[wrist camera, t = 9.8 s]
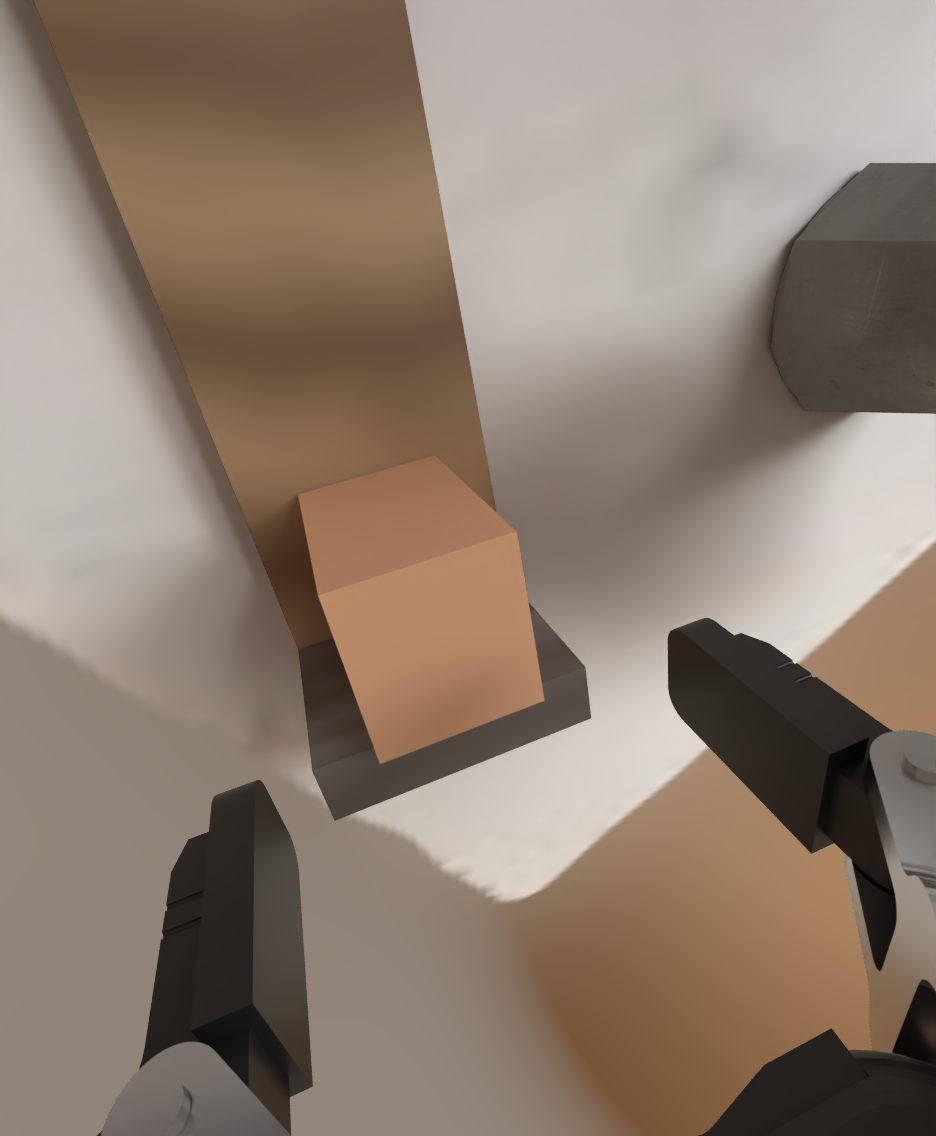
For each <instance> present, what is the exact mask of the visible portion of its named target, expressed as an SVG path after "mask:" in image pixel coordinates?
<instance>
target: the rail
mask: <svg viewBox="0 0 936 1136" xmlns="http://www.w3.org/2000/svg"><path fill="white" fill-rule="evenodd" d="M33 1H34V3H35V6H36V8H37V11H38V13H39V15H40V18H41V20H42V23H43V25H44V28H45V30H46V33H47V35H48V38H49V40H50V42H51V45H52V47H53V50H54V52H55V55H56V57H57V60H58V62H59V64H60V67H61V69H62V72H63V74H64V77H65V79H66V82H67V84H68V87H69V89H70V91H71V94H72V96H73V99H74V101H75V104H76V106H77V109H78V111H79V113H80V116H81V118H82V121H83V123H84V126H85V128H86V131H87V133H88V135H89V138H90V140H91V143H92V145H93V148H94V150H95V153H96V155H97V158H98V160H99V162H100V165H101V167H102V170H103V172H104V175H105V177H106V180H107V182H108V184H109V187H110V189H111V192H112V194H113V197H114V199H115V202H116V204H117V207H118V209H119V211H120V214H121V216H122V219H123V221H124V224H125V226H126V229H127V231H128V233H129V236H130V238H131V241H132V243H133V246H134V248H135V251H136V253H137V255H138V258H139V260H140V263H141V265H142V268H143V270H144V273H145V275H146V278H147V280H148V282H149V285H150V287H151V290H152V292H153V295H154V297H155V300H156V302H157V304H158V307H159V309H160V312H161V314H162V317H163V319H164V322H165V324H166V327H167V329H168V331H169V334H170V336H171V339H172V341H173V344H174V346H175V349H176V351H177V353H178V356H179V358H180V361H181V363H182V366H183V368H184V371H185V373H186V375H187V378H188V380H189V383H190V385H191V388H192V390H193V393H194V395H195V398H196V400H197V402H198V405H199V407H200V410H201V412H202V415H203V417H204V420H205V422H206V424H207V427H208V429H209V432H210V434H211V437H212V439H213V442H214V444H215V447H216V449H217V451H218V454H219V456H220V459H221V461H222V464H223V466H224V469H225V471H226V473H227V476H228V478H229V481H230V483H231V486H232V488H233V491H234V493H235V495H236V498H237V500H238V503H239V505H240V508H241V510H242V513H243V515H244V518H245V520H246V522H247V525H248V527H249V530H250V532H251V535H252V537H253V540H254V542H255V544H256V547H257V549H258V552H259V554H260V557H261V559H262V562H263V564H264V567H265V569H266V571H267V574H268V576H269V579H270V581H271V584H272V586H273V589H274V591H275V593H276V596H277V598H278V601H279V603H280V606H281V608H282V611H283V613H284V616H285V618H286V620H287V623H288V625H289V628H290V630H291V633H292V635H293V638H294V640H295V642H296V645H297V647H298V650H299V659H300V668H301V676H302V685H303V694H304V703H305V711H306V720H307V729H308V738H309V747H310V755H311V764H312V771H313V774H314V776H315V778H316V780H317V782H318V785H319V787H320V789H321V791H322V794H323V796H324V798H325V800H326V802H327V805H328V807H329V809H330V811H331V813H332V816H333V818H334V820H338V819H340V818H342V817H345V816H348V815H350V814H353V813H355V812H358V811H360V810H363V809H365V808H368V807H370V806H373V805H375V804H378V803H380V802H383V801H385V800H388V799H390V798H393V797H395V796H398V795H400V794H403V793H405V792H408V791H410V790H413V789H415V788H418V787H420V786H423V785H425V784H428V783H430V782H433V781H435V780H438V779H440V778H443V777H445V776H448V775H450V774H453V773H455V772H458V771H460V770H463V769H465V768H468V767H470V766H473V765H475V764H478V763H480V762H483V761H485V760H488V759H490V758H493V757H495V756H498V755H500V754H503V753H505V752H508V751H510V750H513V749H515V748H518V747H520V746H523V745H525V744H528V743H530V742H533V741H535V740H538V739H540V738H543V737H545V736H548V735H550V734H553V733H555V732H558V731H560V730H563V729H565V728H568V727H570V726H573V725H575V724H578V723H580V722H583V721H585V720H588V719H590V718H591V713H590V704H589V696H588V687H587V678H586V669H585V666H584V665H583V664H582V663H581V662H580V661H579V659H578V658H577V657H576V656H575V655H574V654H573V653H572V651H571V650H570V649H569V648H568V647H567V646H566V645H565V643H564V642H563V641H562V640H561V639H560V638H559V636H558V635H557V634H556V633H555V632H554V631H553V630H552V628H551V627H550V626H549V625H548V624H547V623H546V622H545V620H544V619H543V618H542V617H541V616H540V615H539V614H538V612H537V611H536V610H535V609H534V608H533V607H532V606H531V604H530V603H529V608H530V614H531V621H532V627H533V633H534V639H535V645H536V651H537V657H538V663H539V670H540V676H541V682H542V688H543V694H544V700H545V701H542V702H540V703H537V704H535V705H532V706H529V707H527V708H524V709H522V710H519V711H517V712H514V713H511V714H509V715H506V716H504V717H501V718H498V719H496V720H493V721H491V722H488V723H485V724H483V725H480V726H478V727H475V728H473V729H470V730H467V731H465V732H462V733H460V734H457V735H454V736H452V737H449V738H447V739H444V740H441V741H439V742H436V743H434V744H431V745H429V746H426V747H423V748H421V749H418V750H416V751H413V752H410V753H408V754H405V755H403V756H400V757H397V758H395V759H392V760H390V761H387V762H385V763H382V764H380V763H379V760H378V757H377V755H376V752H375V749H374V747H373V744H372V741H371V738H370V736H369V733H368V730H367V727H366V725H365V722H364V719H363V717H362V714H361V711H360V708H359V706H358V703H357V700H356V698H355V695H354V692H353V689H352V687H351V684H350V681H349V679H348V676H347V673H346V670H345V668H344V665H343V662H342V659H341V657H340V654H339V651H338V649H337V646H336V643H335V640H334V638H333V635H332V632H331V630H330V627H329V624H328V621H327V619H326V616H325V613H324V611H323V608H322V605H321V602H320V600H319V597H318V593H317V588H316V583H315V578H314V573H313V568H312V563H311V558H310V553H309V548H308V543H307V538H306V533H305V528H304V523H303V518H302V513H301V507H300V502H299V497H298V494H301V493H305V492H308V491H312V490H315V489H319V488H322V487H326V486H329V485H333V484H336V483H340V482H343V481H347V480H350V479H354V478H357V477H361V476H364V475H368V474H371V473H375V472H378V471H382V470H385V469H389V468H392V467H396V466H399V465H403V464H406V463H410V462H413V461H417V460H420V459H424V458H427V457H431V456H434V455H435V456H436V457H437V458H438V459H439V460H440V461H441V462H442V463H443V464H445V465H446V466H447V467H448V468H449V469H450V470H451V471H452V472H453V473H454V474H455V475H456V476H458V477H459V478H460V479H461V480H462V481H463V482H464V483H465V484H466V485H467V486H468V487H469V488H471V489H472V490H473V491H474V492H475V493H476V494H477V495H478V496H479V497H480V498H481V499H482V500H484V501H485V502H486V503H487V504H488V505H489V506H490V507H491V508H492V509H493V510H494V511H495V512H496V508H495V502H494V497H493V491H492V486H491V480H490V474H489V469H488V463H487V458H486V452H485V446H484V441H483V435H482V430H481V424H480V419H479V413H478V407H477V402H476V396H475V391H474V385H473V379H472V374H471V368H470V363H469V357H468V352H467V346H466V340H465V335H464V329H463V324H462V318H461V312H460V307H459V301H458V296H457V290H456V284H455V279H454V273H453V268H452V262H451V257H450V251H449V245H448V240H447V234H446V229H445V223H444V217H443V212H442V206H441V201H440V195H439V190H438V184H437V178H436V173H435V167H434V162H433V156H432V150H431V145H430V139H429V134H428V128H427V122H426V117H425V111H424V106H423V100H422V95H421V89H420V83H419V78H418V72H417V67H416V61H415V55H414V50H413V44H412V39H411V33H410V28H409V22H408V16H407V11H406V5H405V0H33Z"/></svg>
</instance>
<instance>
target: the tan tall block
mask: <svg viewBox="0 0 936 1136" xmlns="http://www.w3.org/2000/svg"><path fill="white" fill-rule="evenodd" d="M298 497H299V502H300V507H301V513H302V518H303V523H304V528H305V533H306V538H307V543H308V548H309V553H310V558H311V563H312V568H313V573H314V578H315V583H316V588H317V593H318V597H319V600H320V602H321V605H322V608H323V611H324V613H325V616H326V619H327V621H328V624H329V627H330V630H331V632H332V635H333V638H334V640H335V643H336V646H337V649H338V651H339V654H340V657H341V659H342V662H343V665H344V668H345V670H346V673H347V676H348V679H349V681H350V684H351V687H352V689H353V692H354V695H355V698H356V700H357V703H358V706H359V708H360V711H361V714H362V717H363V719H364V722H365V725H366V727H367V730H368V733H369V736H370V738H371V741H372V744H373V747H374V749H375V752H376V755H377V757H378V760H379V763H380V764H382V763H385V762H387V761H390V760H392V759H395V758H397V757H400V756H403V755H405V754H408V753H410V752H413V751H416V750H418V749H421V748H423V747H426V746H429V745H431V744H434V743H436V742H439V741H441V740H444V739H447V738H449V737H452V736H454V735H457V734H460V733H462V732H465V731H467V730H470V729H473V728H475V727H478V726H480V725H483V724H485V723H488V722H491V721H493V720H496V719H498V718H501V717H504V716H506V715H509V714H511V713H514V712H517V711H519V710H522V709H524V708H527V707H529V706H532V705H535V704H537V703H540V702H542V701H545V700H544V694H543V688H542V682H541V676H540V670H539V663H538V657H537V651H536V645H535V639H534V633H533V627H532V621H531V614H530V608H529V602H528V596H527V590H526V584H525V578H524V571H523V565H522V559H521V553H520V547H519V541H518V535H517V531H516V530H515V529H514V528H513V527H512V526H511V525H510V524H508V523H507V522H506V521H505V520H504V519H503V518H502V517H501V516H500V515H499V514H498V513H497V512H495V511H494V510H493V509H492V508H491V507H490V506H489V505H488V504H487V503H486V502H485V501H484V500H482V499H481V498H480V497H479V496H478V495H477V494H476V493H475V492H474V491H473V490H472V489H471V488H469V487H468V486H467V485H466V484H465V483H464V482H463V481H462V480H461V479H460V478H459V477H458V476H456V475H455V474H454V473H453V472H452V471H451V470H450V469H449V468H448V467H447V466H446V465H445V464H443V463H442V462H441V461H440V460H439V459H438V458H437V457H436V456H435V455H434V456H431V457H427V458H424V459H420V460H417V461H413V462H410V463H406V464H403V465H399V466H396V467H392V468H389V469H385V470H382V471H378V472H375V473H371V474H368V475H364V476H361V477H357V478H354V479H350V480H347V481H343V482H340V483H336V484H333V485H329V486H326V487H322V488H319V489H315V490H312V491H308V492H305V493H301V494H298Z"/></svg>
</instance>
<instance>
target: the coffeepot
mask: <svg viewBox="0 0 936 1136" xmlns="http://www.w3.org/2000/svg"><path fill="white" fill-rule="evenodd" d="M771 349H772V352H773V355H774V358H775V361H776V364H777V367H778V369H779V372H780V375H781V377H782V379H783V381H784V382H785V384H786V385H787V387H788V388H789V390H790V391H791V392H792V393H793V394H794V395H796V396H797V398H798V400H799V402H800V404H801V406H802V408H803V410H804V411H831V412H882V413H933V414H936V163H870V164H869V165H867V166H866V167H865V168H864V169H863V170H862V171H861V172H860V173H859V174H857V175H856V176H855V177H854V178H853V179H852V180H851V181H850V182H849V183H848V184H846V185H845V186H844V187H843V188H842V189H841V190H840V191H839V192H837V193H836V194H835V195H834V196H833V197H832V198H831V199H829V200H828V201H827V202H826V203H825V204H824V205H823V206H822V208H821V209H820V210H819V211H818V212H817V214H816V215H815V216H814V217H813V218H812V220H811V221H810V222H809V223H808V225H807V226H806V228H805V230H804V231H803V233H802V234H801V235H800V236H799V237H798V238H797V239H796V240H795V242H794V245H793V247H792V250H791V252H790V255H789V258H788V260H787V263H786V265H785V268H784V271H783V274H782V277H781V281H780V284H779V287H778V291H777V294H776V299H775V306H774V312H773V319H772V342H771Z"/></svg>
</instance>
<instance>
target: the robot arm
mask: <svg viewBox="0 0 936 1136" xmlns="http://www.w3.org/2000/svg"><path fill="white" fill-rule="evenodd" d="M668 689H669V695H670V699H671V701H672V704H673V706H674V708H675V710H676V711H677V713H678V714H679V716H680V717H681V718H682V720H683V721H684V722H685V723H686V724H687V725H688V726H689V727H690V728H691V729H692V730H693V731H694V732H695V733H696V734H697V735H698V736H699V737H700V738H701V739H702V740H703V741H704V743H705V744H706V745H707V746H708V747H709V748H710V749H711V750H712V751H713V752H714V753H715V754H716V755H717V756H718V757H719V758H720V759H721V760H722V761H723V762H724V763H725V764H726V765H727V766H728V767H729V768H730V770H732V772H733V773H734V774H735V775H736V776H737V777H738V778H739V779H740V780H741V781H742V782H743V783H744V784H745V785H746V786H747V787H748V788H749V789H750V790H751V791H752V792H753V793H754V794H755V796H756V797H757V798H758V799H759V800H760V801H761V802H762V803H763V804H764V805H765V806H766V807H767V808H768V809H769V810H770V811H771V812H772V813H773V814H774V815H775V816H776V817H777V818H778V819H779V820H780V822H781V823H782V824H783V825H784V826H785V827H786V828H787V829H788V830H789V831H790V832H791V833H792V834H793V835H794V836H795V837H796V838H797V839H798V840H799V841H800V842H801V843H802V844H803V845H804V846H805V847H806V849H807V850H808V851H809V852H810V853H814V852H816V851H818V850H820V849H823V848H825V847H827V846H829V845H831V844H833V843H835V844H836V845H837V846H838V847H839V848H840V849H841V850H842V851H843V852H844V853H845V854H846V856H845V871H846V875H847V880H848V885H849V890H850V895H851V900H852V904H853V909H854V914H855V919H856V924H857V929H858V934H859V938H860V943H861V948H862V953H863V958H864V963H865V968H866V973H867V978H868V985H869V1027H870V1038H871V1045H872V1051H867V1050H849V1051H848V1049H847V1048H846V1047H845V1045H844V1044H843V1043H842V1041H841V1040H840V1039H839V1038H838V1036H837V1035H836V1034H835V1032H834V1031H833V1030H832V1029H829V1030H828V1031H826V1032H824V1033H822V1034H820V1035H819V1036H817V1037H815V1038H813V1039H811V1040H809V1041H808V1042H806V1043H804V1044H802V1045H800V1046H798V1047H797V1048H795V1049H793V1050H791V1051H789V1052H787V1053H785V1054H784V1055H782V1056H780V1057H778V1058H776V1059H774V1060H773V1061H771V1062H769V1063H767V1064H765V1065H764V1066H763V1067H762V1068H761V1069H760V1071H759V1072H758V1073H757V1074H756V1075H755V1077H754V1078H753V1079H752V1080H751V1081H750V1083H749V1084H748V1085H747V1086H746V1087H745V1088H744V1090H743V1091H742V1092H741V1093H740V1094H739V1096H738V1097H737V1098H736V1099H735V1100H734V1102H733V1103H732V1104H731V1105H730V1106H729V1108H728V1109H727V1110H726V1111H725V1112H724V1114H723V1115H722V1116H721V1117H720V1119H719V1120H718V1121H717V1122H716V1123H715V1124H714V1126H713V1127H712V1128H711V1129H710V1130H709V1131H708V1132H706V1133H704V1134H702V1135H699V1136H936V736H935V735H932V734H928V733H923V732H918V731H908V730H902V731H901V730H900V731H892V730H890V729H889V728H887V727H886V726H884V725H883V724H881V723H880V722H879V721H877V720H875V719H874V718H873V717H872V716H870V715H869V714H867V713H866V712H865V711H863V710H862V709H860V708H859V707H858V706H856V705H855V704H853V703H852V702H851V701H849V700H848V699H846V698H845V697H844V696H842V695H841V694H839V693H838V692H836V691H835V690H834V689H832V688H831V687H830V686H828V685H827V684H825V683H824V682H823V681H821V680H820V679H818V678H817V677H814V678H813V677H812V675H811V673H810V672H809V671H807V670H806V669H804V668H803V667H801V666H800V665H799V664H797V663H796V664H794V663H793V661H792V659H790V658H789V657H787V656H786V655H785V654H783V653H782V652H780V651H779V650H778V649H776V648H775V647H773V646H772V645H771V644H769V643H766V642H764V641H761V640H758V639H756V638H753V637H750V636H747V635H745V634H742V633H740V634H737V635H735V636H734V635H733V634H731V633H730V632H729V631H727V630H726V629H725V628H723V627H722V626H721V625H719V624H718V623H717V622H715V621H714V620H712V619H710V618H703V619H701V620H698V621H695V622H692V623H690V624H687V625H684V626H681V627H679V628H676V629H673V630H671V631H670V633H669V635H668ZM166 905H167V911H165V917H164V923H163V930H162V933H163V939H162V940H161V943H160V950H159V957H158V963H157V970H156V977H155V983H154V990H153V997H152V1003H151V1010H150V1016H149V1023H148V1030H147V1037H146V1043H145V1049H144V1054H143V1058H142V1062H141V1065H140V1068H139V1070H138V1071H137V1072H136V1073H135V1075H134V1076H133V1077H132V1078H131V1079H130V1081H129V1082H128V1083H127V1084H126V1086H125V1087H124V1088H123V1090H122V1091H121V1093H120V1094H119V1096H118V1098H117V1099H116V1101H115V1103H114V1104H113V1106H112V1108H111V1110H110V1112H109V1115H108V1117H107V1119H106V1122H105V1124H104V1126H103V1130H102V1131H101V1132H100V1133H99V1134H98V1135H97V1136H291V1123H290V1122H291V1120H290V1097H291V1096H293V1095H295V1094H298V1093H299V1092H302V1091H304V1090H306V1089H308V1088H310V1087H312V1086H313V1083H312V1068H311V1052H310V1037H309V1021H308V1006H307V991H306V975H305V961H304V944H303V929H302V913H301V899H300V883H299V869H298V863H297V857H296V853H295V849H294V845H293V842H292V839H291V837H290V835H289V832H288V830H287V829H286V826H285V824H284V823H283V821H282V819H281V817H280V815H279V813H278V811H277V809H276V807H275V805H274V803H273V801H272V799H271V797H270V795H269V794H268V791H267V789H266V788H265V786H264V784H263V783H262V782H261V781H260V780H256V781H254V782H251V783H248V784H245V785H243V786H240V787H237V788H235V789H232V790H229V791H226V792H224V793H221V794H218V795H216V796H215V797H214V798H213V800H212V806H211V816H210V827H209V832H207V833H204V834H202V835H199V836H196V837H194V838H191V839H189V840H188V841H187V843H186V845H185V847H184V849H183V851H182V853H181V855H180V857H179V858H178V860H177V862H176V864H175V866H174V868H173V870H172V872H171V878H170V884H169V890H168V897H167V904H166Z"/></svg>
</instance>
